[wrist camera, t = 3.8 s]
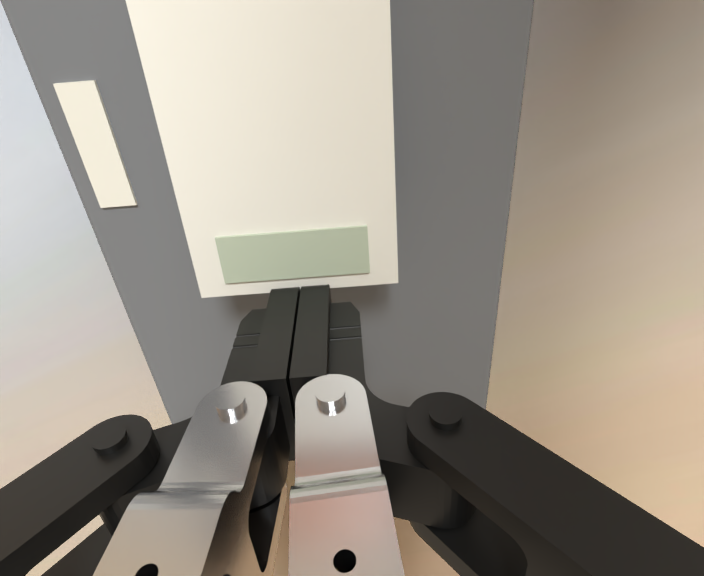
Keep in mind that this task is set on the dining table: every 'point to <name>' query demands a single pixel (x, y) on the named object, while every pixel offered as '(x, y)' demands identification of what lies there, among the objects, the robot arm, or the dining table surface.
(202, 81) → the white slab
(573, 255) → the dining table surface
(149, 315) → the panel
